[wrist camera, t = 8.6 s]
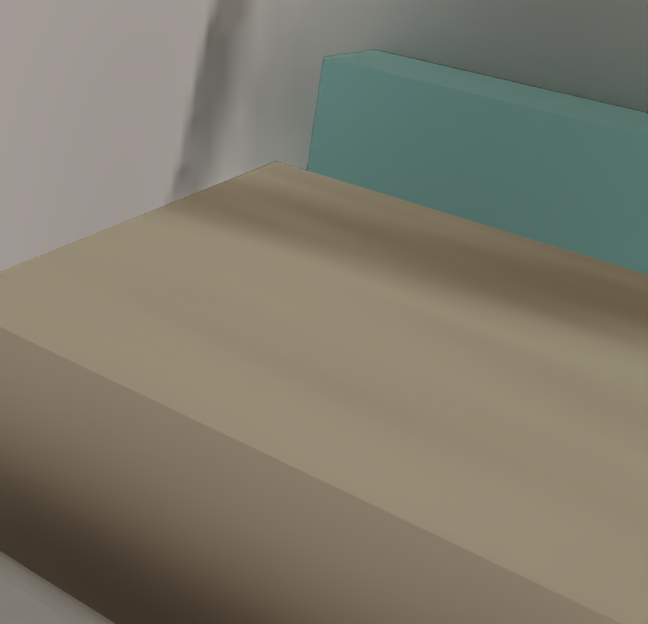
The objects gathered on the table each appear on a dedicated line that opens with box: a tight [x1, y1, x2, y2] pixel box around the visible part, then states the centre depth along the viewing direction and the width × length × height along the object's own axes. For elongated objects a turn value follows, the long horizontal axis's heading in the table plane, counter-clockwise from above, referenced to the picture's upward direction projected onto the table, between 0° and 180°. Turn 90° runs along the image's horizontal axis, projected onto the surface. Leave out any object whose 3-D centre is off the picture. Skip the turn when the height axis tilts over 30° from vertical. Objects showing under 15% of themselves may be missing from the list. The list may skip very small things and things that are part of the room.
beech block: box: [0, 161, 648, 624], centre depth 8 cm, size 6×6×6 cm
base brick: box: [307, 50, 648, 275], centre depth 15 cm, size 8×8×3 cm
